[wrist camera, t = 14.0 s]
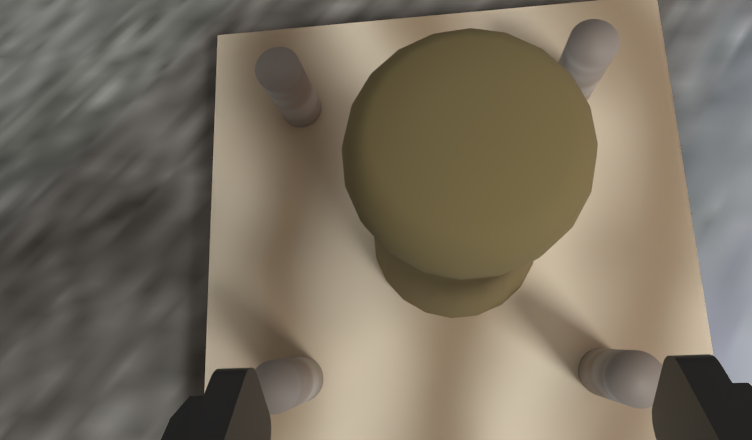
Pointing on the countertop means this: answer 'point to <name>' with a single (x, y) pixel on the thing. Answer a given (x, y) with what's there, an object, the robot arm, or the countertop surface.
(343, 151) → the cork
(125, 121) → the countertop surface
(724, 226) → the countertop surface
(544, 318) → the peg board
